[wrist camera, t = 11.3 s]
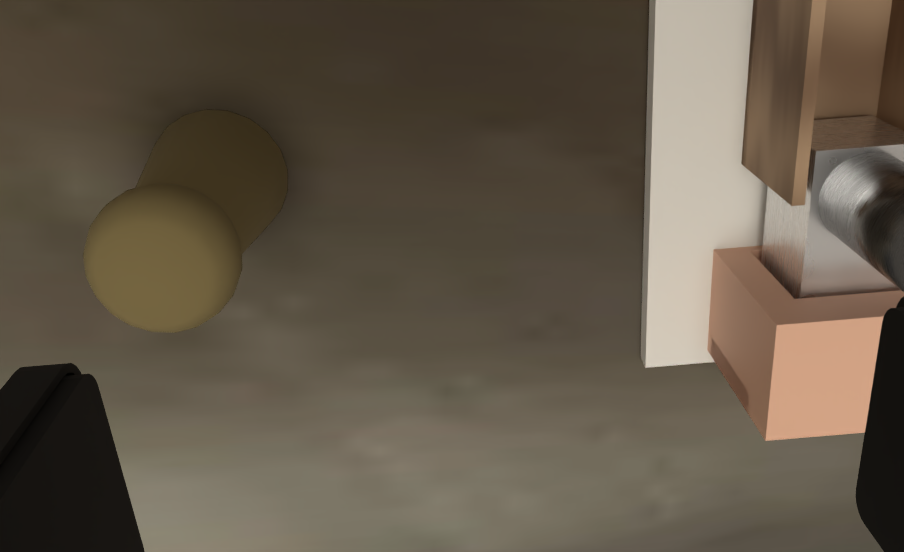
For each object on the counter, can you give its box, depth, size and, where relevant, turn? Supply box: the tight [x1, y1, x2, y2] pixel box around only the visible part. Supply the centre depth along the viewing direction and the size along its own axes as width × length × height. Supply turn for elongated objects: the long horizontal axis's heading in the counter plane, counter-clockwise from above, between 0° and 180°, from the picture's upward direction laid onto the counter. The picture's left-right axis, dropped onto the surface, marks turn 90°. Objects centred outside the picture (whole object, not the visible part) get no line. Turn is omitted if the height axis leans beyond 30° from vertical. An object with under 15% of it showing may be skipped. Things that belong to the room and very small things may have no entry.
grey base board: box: [641, 0, 768, 368], centre depth 38 cm, size 20×14×1 cm
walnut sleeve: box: [741, 0, 904, 206], centre depth 33 cm, size 10×6×6 cm, turn 4°
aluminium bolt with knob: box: [761, 116, 904, 299], centre depth 33 cm, size 10×4×11 cm, turn 4°
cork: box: [83, 110, 288, 333], centre depth 33 cm, size 6×6×11 cm
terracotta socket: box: [707, 245, 904, 441], centre depth 37 cm, size 5×8×8 cm, turn 94°
